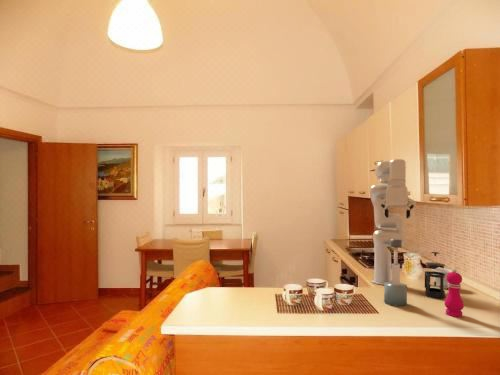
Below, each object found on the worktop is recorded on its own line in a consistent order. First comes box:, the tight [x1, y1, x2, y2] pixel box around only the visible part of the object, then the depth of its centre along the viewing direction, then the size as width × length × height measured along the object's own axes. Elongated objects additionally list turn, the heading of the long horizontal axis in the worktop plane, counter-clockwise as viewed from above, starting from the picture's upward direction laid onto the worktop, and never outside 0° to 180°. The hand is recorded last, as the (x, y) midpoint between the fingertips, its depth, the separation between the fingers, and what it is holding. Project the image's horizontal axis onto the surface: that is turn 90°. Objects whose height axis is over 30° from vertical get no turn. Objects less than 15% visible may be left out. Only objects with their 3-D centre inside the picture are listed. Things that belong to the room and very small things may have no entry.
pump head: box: [389, 239, 403, 265], centre depth 167 cm, size 8×5×12 cm, turn 157°
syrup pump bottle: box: [383, 263, 408, 307], centre depth 165 cm, size 10×10×18 cm
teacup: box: [430, 267, 452, 290], centre depth 200 cm, size 12×15×10 cm
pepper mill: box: [444, 268, 465, 318], centre depth 150 cm, size 7×7×20 cm
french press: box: [424, 251, 446, 300], centre depth 180 cm, size 12×9×23 cm
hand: (397, 217), depth 173 cm, fingers open, 9 cm apart
